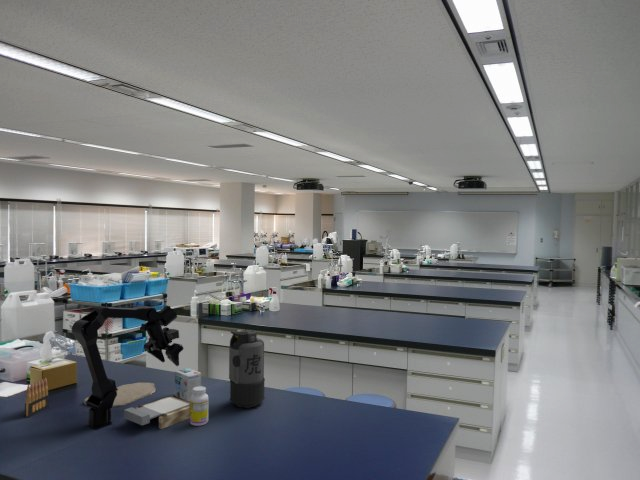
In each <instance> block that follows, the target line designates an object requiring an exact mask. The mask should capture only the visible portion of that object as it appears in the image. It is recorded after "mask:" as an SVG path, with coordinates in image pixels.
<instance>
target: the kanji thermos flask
mask: <svg viewBox="0 0 640 480" xmlns="http://www.w3.org/2000/svg"><path fill="white" fill-rule="evenodd" d="M230 334H232V336H231V338H230V340H229V347H228V349H229V350H228V355H229V357H228V359H229V361H228V363H229V364H228V379H229V382H230V385H229V387H230V388H229V389H230V390H229V391H230V395H229V401H230V402H231V403H233V404H234V405H235V406H236V407H239V408H245V409H246V408H248V409H249V408H252V407H257V406H258V405H259V404H260V403H263V401H265V377H264V376H265V341H264V340H262V339H261V338H258V337H257V332H256V331H253V330H250V329H249V330H241V331H239V330H238V331H230Z"/></svg>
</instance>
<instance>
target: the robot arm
mask: <svg viewBox="0 0 640 480" xmlns="http://www.w3.org/2000/svg"><path fill="white" fill-rule="evenodd" d="M109 318H110V319H135V320H139V321H144V322H145V323H141V326H140V327H139V331H141V332H146V334H147V335H148V337H149V338H147V340H148V341H147V342H145V343H144V344H143V349H144V351H145V352H146V353H148V354H150V356H152V357H154V358H155V359H157V360H159V361H160V362H161V363H165V362H166V360H165V356H166V358H167V359H168V360H169V361H170V362H172V363H173V365H175V366H176V367H179V366H180V354H181V352H182V351H183V350H184V346H183V344H180V343H176V342H174V343H172V342H173V341H174V340H176V339H179V338H180V332H179V330H178V329H175V328H169V327H168V326H169V325H170V324H171V323H172V322H174V321H175V320H176V319H177V318H178V314H177V312H176V311H175V310H174V309H173V308H172V307H171V306H170V305H167V304H166V305H164V307H163V308H162V309H160V310H159V311H157V309H156V308H155V307H153V306H147V305H139V306H138V305H137V306H134V307H116V306H115V307H114V306H113V307H111V306H110V307H109V306H103V305H100V306H98V307H97V306H96V308H95V309H93V311H91V312H89V313H87V314H85V315H84V316H83V317H81V318H80V319H78V320H76V321H74V322H73V324H72V326H71V333H72V335H73V337H74V338H75V340H76V341H77V342H78V343H79V345H80V346H81V347H82V350H83V353H84V357H85V360H86V362H87V365H88V366H87V367H88V370H89V372H90V375H91V378H92V385H91V394H90V395H89V396H88V397H89V398H88V397H87V398H88V399H87V401H86V407H88V408H89V409H88V422H87V423H86V425H87V426H88V427H90V428H91V429H94V430H97V429H101V428H104V427H106V426H109V425H112V424H113V421H111V420H112V410H111V409H112V408H113V407H112V406H113V403H114V400H115V398H116V396H117V391H118V389H117V385H116V381H115V380H113V379H111V378H108V376H107V373H106V370H105V365H104V363H103V360H102V357H101V353H100V350H99V347H98V343H97V341H98V338H99V333H98V331H99V330H100V329H101V328H102V327H103V325H104V323H105V322H106V320H107V319H109ZM163 351H165V353H163ZM164 354H165V356H164Z"/></svg>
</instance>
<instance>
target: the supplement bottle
mask: <svg viewBox="0 0 640 480" xmlns="http://www.w3.org/2000/svg"><path fill="white" fill-rule="evenodd" d="M206 391H207V387H206V386H203V385H201V386H198V387H194V388H193V395H192V396H191V397H190V401H189V403H190V418H189V423H190V425H192V426H195V427H196V426H198V427H200V426H204V425H207V424H208V423H209V395H208V394H207V393H206Z"/></svg>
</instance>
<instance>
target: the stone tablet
mask: <svg viewBox="0 0 640 480" xmlns="http://www.w3.org/2000/svg"><path fill="white" fill-rule="evenodd" d="M116 388H117V389H118V391H117V396H116V398H115V400H114V403H113V406H112V408H116V407H121V406H125V405H129V404H131V403H133V402H136V401H139V400H141V399H144V398H146V397H148V396H150V395H151V396H152V395H153V394H154V393H155V392H156V391H157V390H156V386H155V383H153V382H134V383H127V384H122V385H120V386H116ZM152 393H153V394H152ZM89 397H90V396H87V397H86V398H84V401H83V404H84V405H86V401H87V399H88V398H89ZM86 406H87V405H86Z"/></svg>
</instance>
